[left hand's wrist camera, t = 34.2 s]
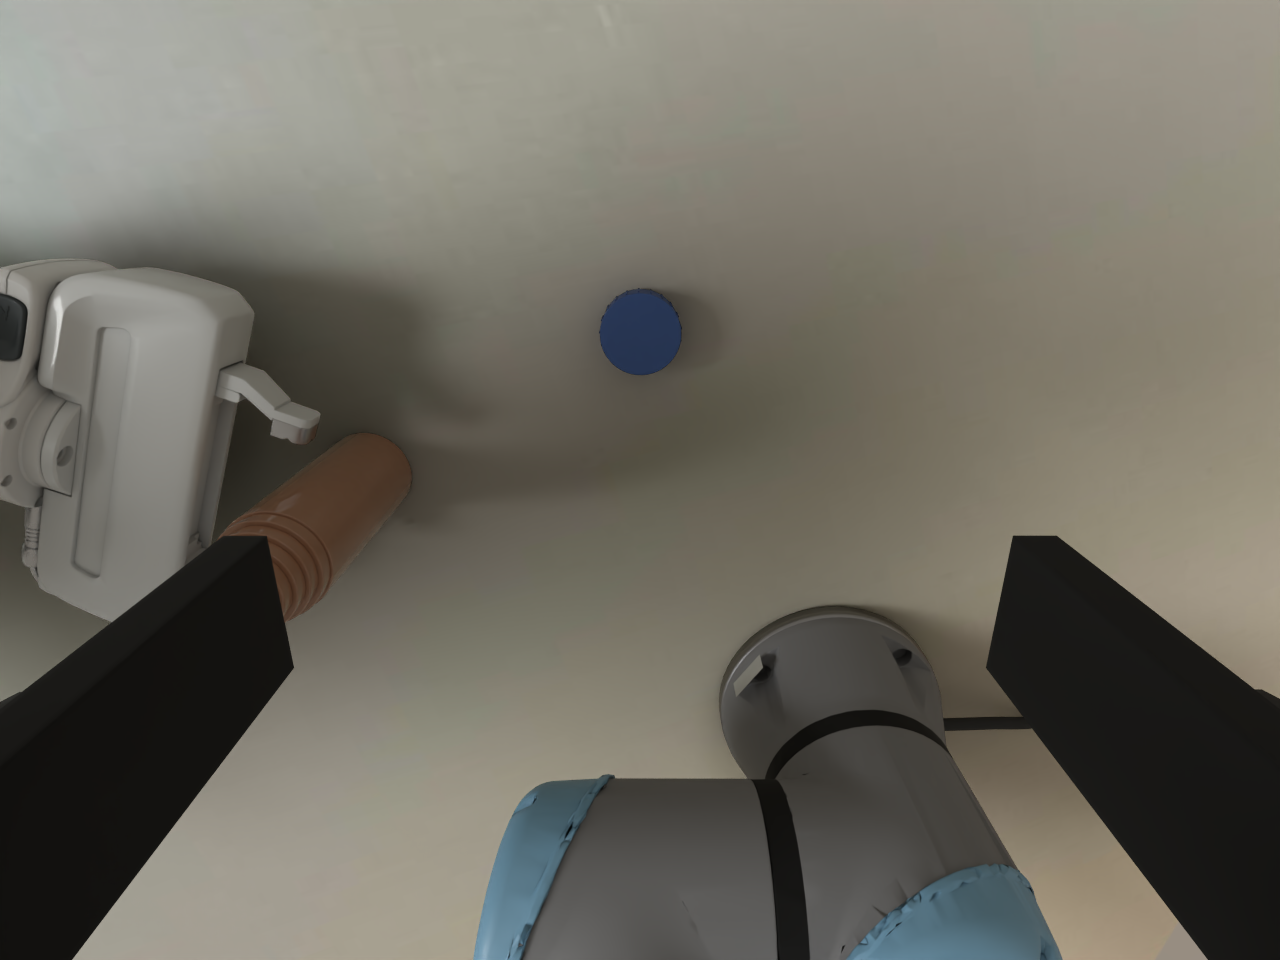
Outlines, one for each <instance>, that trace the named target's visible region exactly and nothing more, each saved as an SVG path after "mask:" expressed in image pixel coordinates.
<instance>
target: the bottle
mask: <svg viewBox="0 0 1280 960" xmlns="http://www.w3.org/2000/svg"><path fill="white" fill-rule="evenodd" d="M411 481H412V473H411V468H410V465H409V462H408V460H407V458H406V457H405V455H404V453H403V452H402V451H401V450H400V449H399V448H398V447H397V446H396V445H395V444H394V443H392V442H391V441H390V440H388V439H386V438H384V437H382V436H379V435H376V434H371V433H356V434H352V435H349V436H347V437H345V438H343V439H341V440H340V441H338V442H337V443H336V444H334V445H333V446H332V447H331V448H329V449H328V450H327V451H325V452H324V453H323V454H321V455H320V456H319V457H317V458H316V459H315V460H313V461H312V462H311V463H309V464H308V465H307V466H305V467H304V468H303V469H302V470H300V471H299V472H298V473H296V474H295V475H294V476H292V477H291V478H290V479H288V480H287V481H286V482H284V483H283V484H282V485H280V486H279V487H278V488H276V489H275V490H274V491H273V492H271V493H270V494H269V495H267V496H266V497H265V498H263V499H262V500H261V501H259V502H258V503H257V504H255V505H254V506H253V507H251V508H250V509H249V510H247V511H246V512H245V513H244V514H242V515H241V516H240V517H238V518H237V519H236V520H234V521H233V522H232V523H231V524H230V525H229V526H228V527H227V528H226V530H225V531H224V532H223V533H222V534H221V535H220V536H219V538H218V539H217V540H219V539H220V538H221V537H222V536H267V539H268V544H269V548H270V553H271V558H272V563H273V568H274V573H275V578H276V583H277V587H278V592H279V597H280V602H281V607H282V612H283V617H284V622H287V621H289V620H291V619H293V618H295V617H296V616H298V615H300V614H302V613H304V612H306V611H307V610H309V609H310V608H311V607H312V606H313V605H314V604H316V603H317V602H319V601H320V600H321V599H322V598H323V597H324V596H325V594H326V593H327V592H328V591H329V590H330V588H331V587H332V586H333V585H334V584H335V582H336V581H337V580H338V579H339V577H340V576H341V575H342V574H343V573H344V571H345V570H346V569H347V568H348V567H349V565H350V564H351V563H352V562H353V560H354V559H355V558H356V557H357V556H358V554H359V553H360V552H361V551H362V550H363V548H364V547H365V546H366V545H367V543H368V542H369V541H370V540H371V539H372V537H373V536H374V535H375V534H376V533H377V531H378V530H379V529H380V528H381V526H382V525H383V524H384V523H385V522H386V520H387V519H388V518H389V517H390V516H391V514H392V513H393V512H394V511H395V509H396V508H397V507H398V506H399V505H400V503H401V502H402V501H403V500H404V499H405V497H406V496H407V494H408V492H409V490H410V487H411ZM217 540H216V541H217Z"/></svg>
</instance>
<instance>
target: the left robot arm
mask: <svg viewBox="0 0 1280 960" xmlns="http://www.w3.org/2000/svg"><path fill="white" fill-rule="evenodd" d="M293 668H294V666H293V661H292V656H291V651H290V646H289V641H288V636H287V631H286V627H285V622H284V617H283V612H282V607H281V602H280V597H279V592H278V587H277V583H276V578H275V573H274V568H273V563H272V558H271V553H270V548H269V544H268V539H267V536H222V537H221V538H220V539H219V540H217V541H216V542H215V543H213V544H212V545H211V546H210V547H208V548H207V549H206V550H204V551H203V552H202V553H201V554H199V555H198V556H197V557H195V558H194V559H193V560H191V561H190V562H189V563H188V564H186V565H185V566H184V567H182V568H181V569H180V570H179V571H177V572H176V573H175V574H173V575H172V576H171V577H170V578H168V579H167V580H166V581H164V582H163V583H162V584H161V585H159V586H158V587H157V588H155V589H154V590H153V591H152V592H150V593H149V594H148V595H146V596H145V597H144V598H143V599H141V600H140V601H139V602H137V603H136V604H135V605H133V606H132V607H131V608H130V609H128V610H127V611H126V612H124V613H123V614H122V615H121V616H119V617H118V618H117V619H115V620H114V621H113V622H112V623H110V624H109V625H108V626H106V627H105V628H104V629H103V630H101V631H100V632H99V633H97V634H96V635H95V636H94V637H92V638H91V639H90V640H88V641H87V642H86V643H85V644H83V645H82V646H81V647H79V648H78V649H77V650H76V651H74V652H73V653H72V654H70V655H69V656H68V657H66V658H65V659H64V660H63V661H61V662H60V663H59V664H57V665H56V666H55V667H54V668H52V669H51V670H50V671H48V672H47V673H46V674H45V675H43V676H42V677H41V678H39V679H38V680H37V681H36V682H34V683H33V684H32V685H30V686H29V687H28V688H27V689H25V690H24V691H23V692H19V693H17V694H15V695H13V696H11V697H9V698H7V699H5V700H3V701H1V702H0V960H72V959H73V958H74V956H75V955H76V954H77V953H78V951H79V950H80V949H81V947H82V946H83V945H84V943H85V942H86V941H87V939H88V938H89V937H90V935H91V934H92V933H93V931H94V930H95V929H96V928H97V926H98V925H99V924H100V922H101V921H102V920H103V918H104V917H105V916H106V914H107V913H108V912H109V910H110V909H111V908H112V906H113V905H114V904H115V903H116V901H117V900H118V899H119V897H120V896H121V895H122V893H123V892H124V891H125V889H126V888H127V887H128V885H129V884H130V883H131V881H132V880H133V879H134V878H135V876H136V875H137V874H138V872H139V871H140V870H141V868H142V867H143V866H144V864H145V863H146V862H147V860H148V859H149V858H150V856H151V855H152V854H153V853H154V851H155V850H156V849H157V847H158V846H159V845H160V843H161V842H162V841H163V839H164V838H165V837H166V835H167V834H168V833H169V831H170V830H171V829H172V828H173V826H174V825H175V824H176V822H177V821H178V820H179V818H180V817H181V816H182V814H183V813H184V812H185V810H186V809H187V808H188V806H189V805H190V804H191V803H192V801H193V800H194V799H195V797H196V796H197V795H198V793H199V792H200V791H201V789H202V788H203V787H204V785H205V784H206V783H207V781H208V780H209V779H210V778H211V776H212V775H213V774H214V772H215V771H216V770H217V768H218V767H219V766H220V764H221V763H222V762H223V760H224V759H225V758H226V756H227V755H228V754H229V753H230V751H231V750H232V749H233V747H234V746H235V745H236V743H237V742H238V741H239V739H240V738H241V737H242V735H243V734H244V733H245V731H246V730H247V729H248V728H249V726H250V725H251V724H252V722H253V721H254V720H255V718H256V717H257V716H258V714H259V713H260V712H261V710H262V709H263V708H264V706H265V705H266V704H267V703H268V701H269V700H270V699H271V697H272V696H273V695H274V693H275V692H276V691H277V689H278V688H279V687H280V685H281V684H282V683H283V681H284V680H285V679H286V678H287V676H288V675H289V674H290V672H291V671H292V670H293ZM986 668H987V670H988V671H989V672H990V674H991V675H992V676H993V678H994V679H995V680H996V681H997V683H998V684H999V685H1000V687H1001V688H1002V689H1003V691H1004V692H1005V693H1006V695H1007V696H1008V697H1009V699H1010V700H1011V701H1012V703H1013V704H1014V705H1015V706H1016V708H1017V709H1018V710H1019V712H1020V713H1021V714H1022V716H1023V717H975V718H943V713H942V704H941V696H940V691H939V686H938V683H937V680H936V677H935V675H934V672H933V670H932V667H931V665H930V663H929V662H928V660H927V658H926V657H925V655H924V653H923V652H922V650H921V649H920V647H919V646H918V645H917V643H916V642H915V641H914V639H913V638H912V637H911V636H910V635H909V634H908V633H907V632H906V631H904V630H903V629H902V628H901V627H900V626H898V625H897V624H895V623H893V622H892V621H890V620H888V619H886V618H884V617H882V616H880V615H877V614H875V613H872V612H868V611H865V610H861V609H855V608H848V607H821V608H814V609H808V610H804V611H800V612H797V613H794V614H791V615H788V616H785V617H783V618H781V619H778V620H776V621H775V622H773V623H771V624H769V625H767V626H766V627H764V628H763V629H761V630H760V631H758V632H757V633H756V634H755V635H753V636H752V637H751V638H750V639H749V640H748V641H747V642H746V643H745V644H744V645H743V646H742V647H741V648H740V649H739V650H738V652H737V653H736V654H735V656H734V657H733V659H732V660H731V662H730V664H729V666H728V667H727V670H726V672H725V674H724V677H723V680H722V683H721V688H720V694H719V711H720V717H721V723H722V729H723V733H724V736H725V739H726V741H727V744H728V747H729V749H730V751H731V753H732V755H733V757H734V759H735V760H736V762H737V764H738V765H739V766H740V768H741V769H742V771H743V772H744V774H745V775H746V777H747V778H748V779H615V776H614V775H609V774H608V775H602V776H601V777H600V778H599V779H584V780H565V781H551V782H546V783H543V784H541V785H539V786H537V787H535V788H534V789H533V790H531V791H530V792H529V793H528V794H527V795H526V796H525V797H524V798H523V799H522V800H521V802H520V803H519V805H518V806H517V808H516V810H515V811H514V813H513V815H512V818H511V819H510V821H509V823H508V826H507V828H506V831H505V833H504V836H503V838H502V841H501V844H500V847H499V850H498V853H497V856H496V859H495V863H494V866H493V870H492V873H491V877H490V880H489V884H488V888H487V892H486V896H485V901H484V905H483V909H482V914H481V919H480V924H479V929H478V935H477V940H476V946H475V952H474V959H473V960H1062V957H1061V954H1060V951H1059V949H1058V946H1057V944H1056V942H1055V940H1054V938H1053V936H1052V934H1051V932H1050V930H1049V927H1048V925H1047V923H1046V921H1045V919H1044V917H1043V915H1042V913H1041V911H1040V909H1039V906H1038V904H1037V902H1036V899H1035V896H1034V891H1033V889H1032V887H1031V885H1030V883H1029V881H1028V880H1027V879H1026V878H1025V877H1024V876H1023V875H1022V874H1021V873H1020V871H1019V870H1018V869H1017V867H1016V865H1015V864H1014V862H1013V860H1012V859H1011V857H1010V855H1009V853H1008V852H1007V850H1006V848H1005V847H1004V845H1003V843H1002V841H1001V840H1000V838H999V836H998V835H997V833H996V831H995V830H994V828H993V826H992V824H991V823H990V821H989V819H988V818H987V816H986V814H985V812H984V811H983V809H982V807H981V806H980V804H979V802H978V801H977V799H976V797H975V795H974V794H973V792H972V790H971V789H970V787H969V785H968V783H967V782H966V780H965V778H964V777H963V775H962V773H961V772H960V770H959V768H958V766H957V765H956V763H955V761H954V760H953V758H952V756H951V755H950V753H949V751H948V749H947V747H946V740H945V731H955V730H986V729H1031V728H1032V729H1033V730H1034V731H1035V733H1036V734H1037V735H1038V737H1039V738H1040V739H1041V741H1042V742H1043V743H1044V745H1045V746H1046V747H1047V749H1048V750H1049V751H1050V753H1051V754H1052V755H1053V756H1054V758H1055V759H1056V760H1057V762H1058V763H1059V764H1060V766H1061V767H1062V768H1063V770H1064V771H1065V772H1066V774H1067V775H1068V776H1069V778H1070V779H1071V780H1072V781H1073V783H1074V784H1075V785H1076V787H1077V788H1078V789H1079V791H1080V792H1081V793H1082V795H1083V796H1084V797H1085V799H1086V800H1087V801H1088V803H1089V804H1090V805H1091V806H1092V808H1093V809H1094V810H1095V812H1096V813H1097V814H1098V816H1099V817H1100V818H1101V820H1102V821H1103V822H1104V824H1105V825H1106V826H1107V828H1108V829H1109V830H1110V831H1111V833H1112V834H1113V835H1114V837H1115V838H1116V839H1117V841H1118V842H1119V843H1120V845H1121V846H1122V847H1123V849H1124V850H1125V851H1126V853H1127V854H1128V855H1129V856H1130V858H1131V859H1132V860H1133V862H1134V863H1135V864H1136V866H1137V867H1138V868H1139V870H1140V871H1141V872H1142V874H1143V875H1144V876H1145V878H1146V879H1147V880H1148V881H1149V883H1150V884H1151V885H1152V887H1153V888H1154V889H1155V891H1156V892H1157V893H1158V895H1159V896H1160V897H1161V899H1162V900H1163V901H1164V903H1165V904H1166V905H1167V906H1168V908H1169V909H1170V910H1171V912H1172V913H1173V914H1174V916H1175V917H1176V918H1177V920H1178V921H1179V922H1180V924H1181V925H1182V926H1183V927H1184V929H1185V930H1186V931H1187V933H1188V934H1189V935H1190V937H1191V938H1192V939H1193V941H1194V942H1195V943H1196V945H1197V946H1198V947H1199V949H1200V950H1201V951H1202V952H1203V954H1204V955H1205V956H1206V958H1207V959H1208V960H1280V699H1279V698H1277V697H1275V696H1273V695H1271V694H1269V693H1267V692H1265V691H1263V690H1255V689H1253V688H1252V687H1251V686H1250V685H1248V684H1247V683H1246V682H1244V681H1243V680H1242V679H1241V678H1239V677H1238V676H1237V675H1235V674H1234V673H1233V672H1232V671H1230V670H1229V669H1228V668H1226V667H1225V666H1224V665H1223V664H1221V663H1220V662H1219V661H1217V660H1216V659H1215V658H1214V657H1212V656H1211V655H1210V654H1208V653H1207V652H1206V651H1204V650H1203V649H1202V648H1201V647H1199V646H1198V645H1197V644H1195V643H1194V642H1193V641H1192V640H1190V639H1189V638H1188V637H1186V636H1185V635H1184V634H1183V633H1181V632H1180V631H1179V630H1177V629H1176V628H1175V627H1174V626H1172V625H1171V624H1170V623H1168V622H1167V621H1166V620H1165V619H1163V618H1162V617H1161V616H1159V615H1158V614H1157V613H1156V612H1154V611H1153V610H1152V609H1150V608H1149V607H1148V606H1146V605H1145V604H1144V603H1143V602H1141V601H1140V600H1139V599H1137V598H1136V597H1135V596H1134V595H1132V594H1131V593H1130V592H1128V591H1127V590H1126V589H1125V588H1123V587H1122V586H1121V585H1119V584H1118V583H1117V582H1116V581H1114V580H1113V579H1112V578H1110V577H1109V576H1108V575H1107V574H1105V573H1104V572H1103V571H1101V570H1100V569H1099V568H1098V567H1096V566H1095V565H1094V564H1092V563H1091V562H1090V561H1089V560H1087V559H1086V558H1085V557H1083V556H1082V555H1081V554H1079V553H1078V552H1077V551H1076V550H1074V549H1073V548H1072V547H1070V546H1069V545H1068V544H1067V543H1065V542H1064V541H1063V540H1061V539H1060V538H1059V537H1058V536H1013V539H1012V544H1011V548H1010V553H1009V558H1008V563H1007V568H1006V573H1005V578H1004V583H1003V587H1002V592H1001V597H1000V602H999V607H998V612H997V617H996V622H995V627H994V631H993V636H992V641H991V646H990V651H989V656H988V661H987V666H986Z"/></svg>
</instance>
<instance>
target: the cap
mask: <svg viewBox="0 0 1280 960" xmlns="http://www.w3.org/2000/svg"><path fill="white" fill-rule="evenodd" d="M678 317H679V316H678V313H677V312H676V311H675V310H674V308H673V306H672V303H671V302H669V301H668V300H667V299H666V298H665V297H663V295H662V294H661V295H660V294H659V293H656V292H654V291H652V290H651V289H650V290H646V289H639V288H638V289H635V290H630V291H628V290H627V291H626V292H625V293H623V294H621V295H619V296H618V297H617V296H616V298H615V299H614V300H613V301H612V302H611V304H610V305H608V306H607V309H606V312H605V314H604V316H603V317H602V319H601V321H602V323H601V328H600V331H599V333H600V340H601V345H602V348H603V351H604V353H605V355H606V356H607V358H608V359H609V360H610V362H611V363H612V364H613V365H615V366H616V367H617V368H619V369H620V370H622V371H624V372H627V373H630V374H634V375H647V374H652V373H655V372H657V371H659V370H661V369H663V368H664V367H665V366H667V365H668V364H669V363H670V362H671V361H672V359H673V358H674V357H675V355H676V353H677V351H678V349H679V346H680V342H681V329H682V328H681V325H680V322H679V319H678Z"/></svg>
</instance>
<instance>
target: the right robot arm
mask: <svg viewBox="0 0 1280 960" xmlns="http://www.w3.org/2000/svg"><path fill="white" fill-rule="evenodd" d="M253 322H254V311H253V309H252V308H251V306H250V305H249V304H248V302H247V301H246V300H245V299H244V297H243V296H242V295H241V294H240V293H239V292H238V291H236V290H235V289H232V288H229V287H227V286H224V285H221V284H218V283H215V282H212V281H209V280H205V279H202V278H199V277H195V276H191V275H187V274H183V273H179V272H174V271H170V270H165V269H159V268H152V267H141V268H128V269H117V268H116V267H114V266H112V265H110V264H107V263H105V262H102V261H98V260H90V259H76V258H60V259H46V260H37V261H30V262H24V263H19V264H14V265H9V266H5V267H1V268H0V500H3V501H6V502H9V503H12V504H15V505H19V506H22V507H25V514H24V527H25V540H24V543H23V545H22V549H21V558H22V562H23V565H24V566H26V567H30V571H31V573H32V575H33V577H34V578H35V580H36V581H37V582H38V586H39V588H40V589H42V590H43V591H45V592H47V593H49V594H51V595H55V596H57V597H58V598H60V599H62V600H63V601H65V602H67V603H69V604H71V605H73V606H75V607H77V608H80V609H82V610H84V611H86V612H88V613H91V614H93V615H95V616H98V617H100V618H102V619H105V620H107V621H110V622H113V621H114V620H115V619H117V618H118V617H119V616H121V615H122V614H123V613H124V612H126V611H127V610H128V609H130V608H131V607H132V606H133V605H135V604H136V603H137V602H139V601H140V600H141V599H143V598H144V597H145V596H146V595H148V594H149V593H150V592H152V591H153V590H154V589H155V588H157V587H158V586H159V585H161V584H162V583H163V582H164V581H166V580H167V579H168V578H170V577H171V576H172V575H173V574H175V573H176V572H177V571H179V570H180V569H181V568H182V567H184V566H185V565H186V564H188V563H189V562H190V561H191V560H193V559H194V558H195V557H197V556H198V555H199V554H201V553H202V552H203V551H204V550H206V549H207V548H208V547H210V546H211V542H212V537H213V531H214V526H215V521H216V516H217V510H218V505H219V500H220V495H221V489H222V484H223V479H224V474H225V468H226V463H227V458H228V453H229V447H230V442H231V437H232V431H233V426H234V421H235V416H236V410H237V405H238V402H240V401H242V400H244V399H246V398H247V399H248V400H249V401H250V402H251V403H252V404H254V405H255V406H256V407H257V408H258V409H259V410H260V411H261V412H262V413H264V414H265V415H266V416H267V417H268V418H269V419H270V420H271V421H273V422H272V427H271V433H270V435H271V436H274V437H277V438H280V439H286V438H288V439H289V441H290V442H291V443H295V444H299V445H306V444H308V443H309V442H310V441H311V440H314V439H315V435H316V431H317V428H318V424H319V421H320V415H321V414H320V413H319V412H318V411H316V410H314V409H311V408H308V407H305V406H302V405H299V404H297V403H294V402H291V399H290V398H289V397H288V395H287V394H286V393H285V392H284V391H283V390H282V389H281V388H280V387H279V386H278V385H277V384H276V383H275V382H274V381H273V380H272V379H271V377H270V376H269V375H268V374H267V373H266V372H265V371H264V370H261V369H258V368H255V367H252V366H249V365H247V364H245V363H246V358H247V353H248V348H249V342H250V337H251V332H252V327H253Z"/></svg>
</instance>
